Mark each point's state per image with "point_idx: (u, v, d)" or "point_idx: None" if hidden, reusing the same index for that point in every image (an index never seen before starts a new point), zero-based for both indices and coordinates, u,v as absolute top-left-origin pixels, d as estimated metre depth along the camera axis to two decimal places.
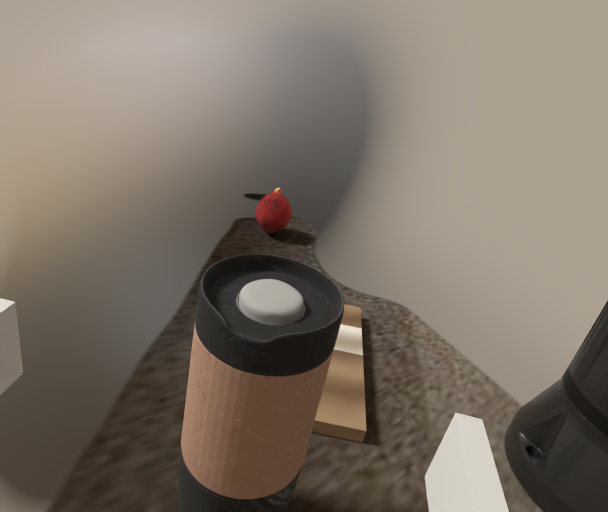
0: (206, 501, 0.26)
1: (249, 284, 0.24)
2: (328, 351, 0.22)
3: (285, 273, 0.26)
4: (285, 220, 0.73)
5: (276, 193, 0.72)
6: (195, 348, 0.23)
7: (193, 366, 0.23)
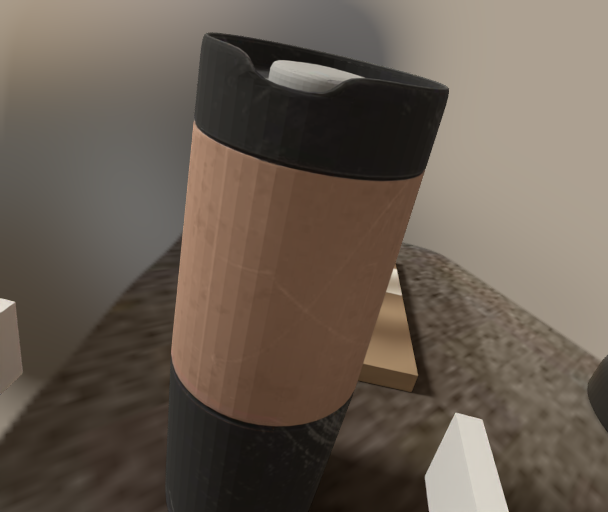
0: (209, 432, 0.16)
1: (285, 61, 0.14)
2: (424, 156, 0.13)
3: None
4: None
5: None
6: (194, 156, 0.13)
7: (190, 193, 0.14)
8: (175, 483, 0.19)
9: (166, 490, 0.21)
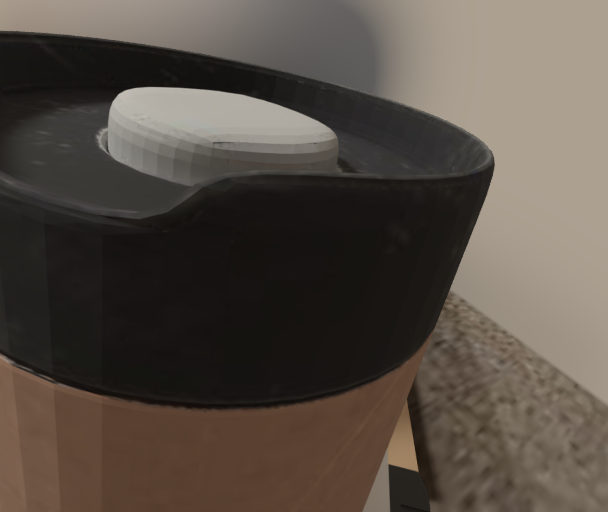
0: None
1: (155, 87, 0.07)
2: (440, 305, 0.06)
3: None
4: None
5: None
6: None
7: None
8: None
9: None
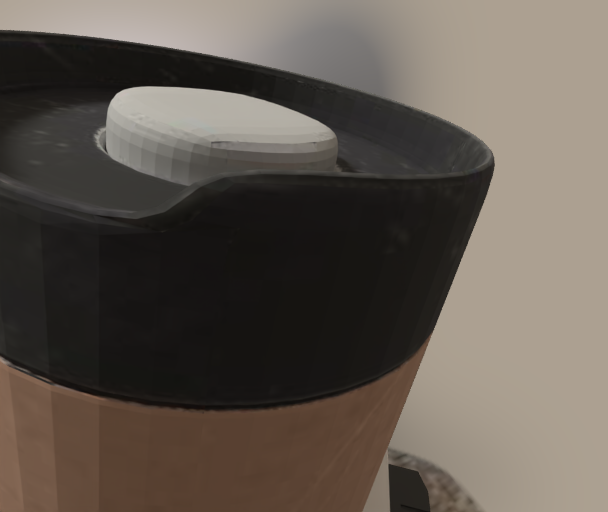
0: None
1: (154, 87, 0.07)
2: (440, 306, 0.06)
3: None
4: None
5: None
6: None
7: None
8: None
9: None
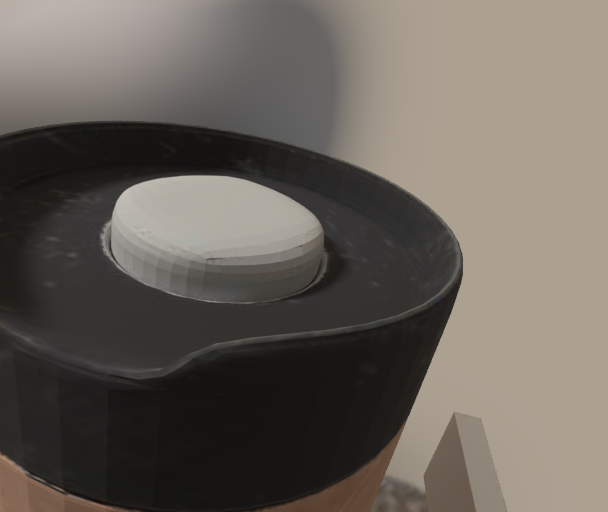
0: None
1: (155, 180, 0.08)
2: (413, 398, 0.06)
3: (271, 181, 0.10)
4: None
5: None
6: None
7: None
8: None
9: None
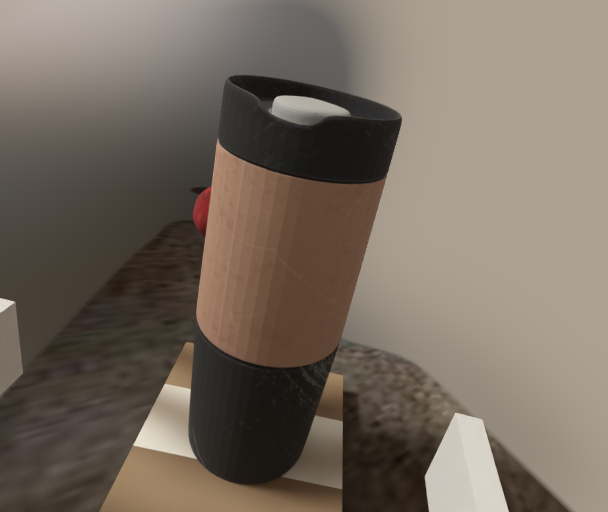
0: (227, 374, 0.21)
1: None
2: (384, 166, 0.18)
3: None
4: None
5: None
6: (218, 166, 0.19)
7: (215, 193, 0.19)
8: (198, 420, 0.24)
9: (189, 430, 0.26)
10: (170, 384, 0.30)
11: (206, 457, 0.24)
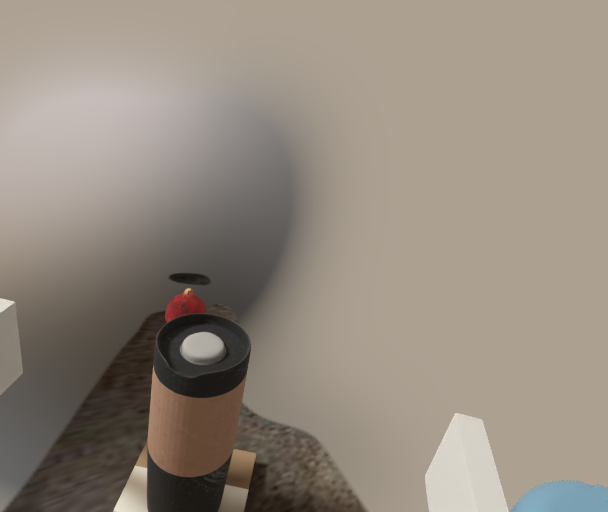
0: (162, 478, 0.38)
1: (189, 336, 0.36)
2: (237, 381, 0.35)
3: (217, 326, 0.39)
4: None
5: (186, 295, 0.65)
6: (153, 378, 0.36)
7: (152, 390, 0.36)
8: (150, 499, 0.41)
9: (147, 501, 0.43)
10: (138, 466, 0.47)
11: None
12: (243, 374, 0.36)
